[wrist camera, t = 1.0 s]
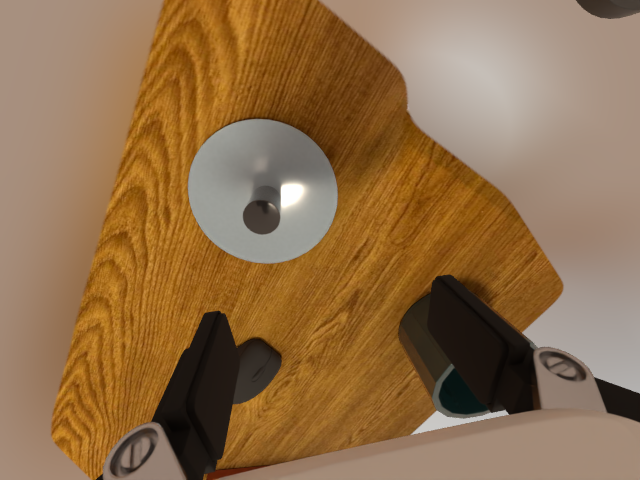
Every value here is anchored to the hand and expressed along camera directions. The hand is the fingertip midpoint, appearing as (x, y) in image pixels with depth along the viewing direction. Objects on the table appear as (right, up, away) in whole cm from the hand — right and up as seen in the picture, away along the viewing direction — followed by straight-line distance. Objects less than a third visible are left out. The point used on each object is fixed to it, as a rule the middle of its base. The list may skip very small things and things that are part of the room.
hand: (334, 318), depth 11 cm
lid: (-6, +8, +14) cm, 17 cm away
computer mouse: (-12, -15, +25) cm, 31 cm away
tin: (+18, -9, +26) cm, 33 cm away
